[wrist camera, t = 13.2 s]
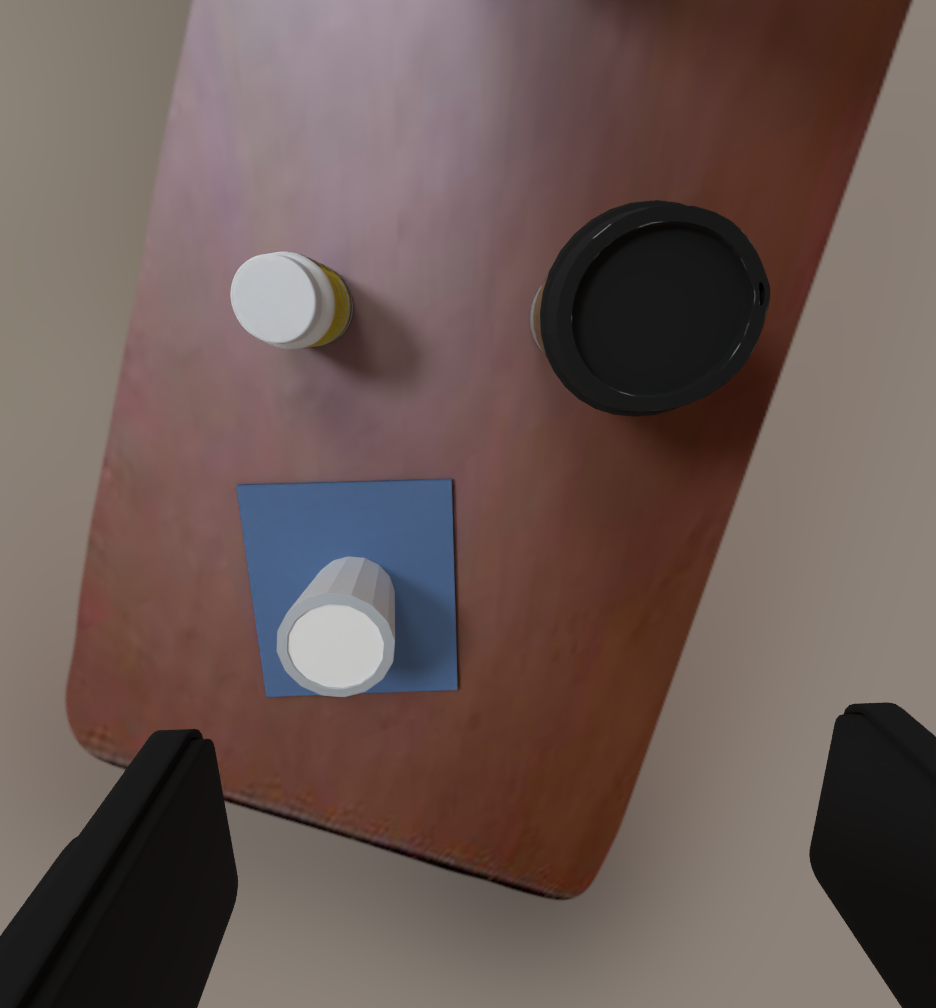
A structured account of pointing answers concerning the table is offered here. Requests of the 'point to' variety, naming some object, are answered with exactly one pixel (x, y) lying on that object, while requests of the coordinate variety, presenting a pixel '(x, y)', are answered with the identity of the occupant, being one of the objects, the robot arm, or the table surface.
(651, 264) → the coffee cup
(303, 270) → the supplement bottle
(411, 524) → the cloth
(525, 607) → the table surface
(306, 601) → the white cup
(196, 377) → the table surface
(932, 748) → the robot arm
